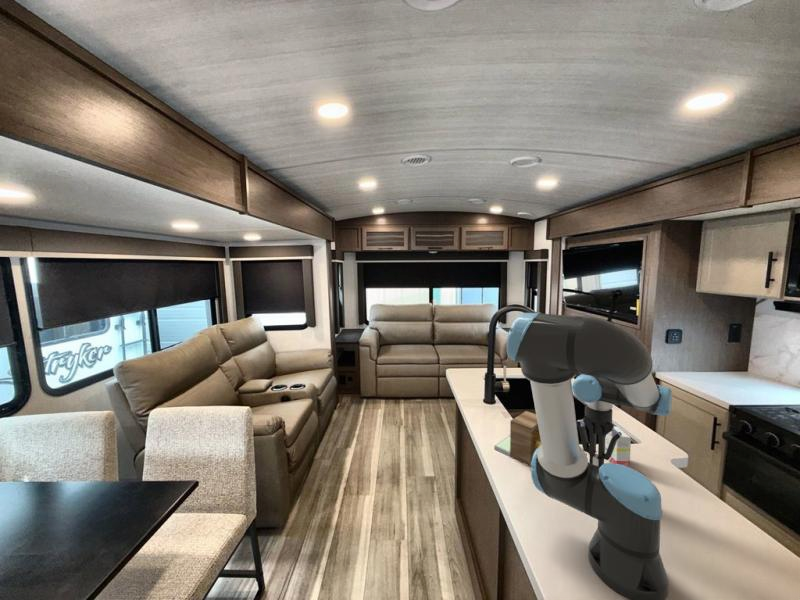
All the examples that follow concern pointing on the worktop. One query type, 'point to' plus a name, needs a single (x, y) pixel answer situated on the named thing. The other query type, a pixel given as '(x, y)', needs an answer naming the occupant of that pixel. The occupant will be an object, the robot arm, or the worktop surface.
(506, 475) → the worktop surface
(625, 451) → the ink box
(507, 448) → the deck
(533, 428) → the wooden house block
